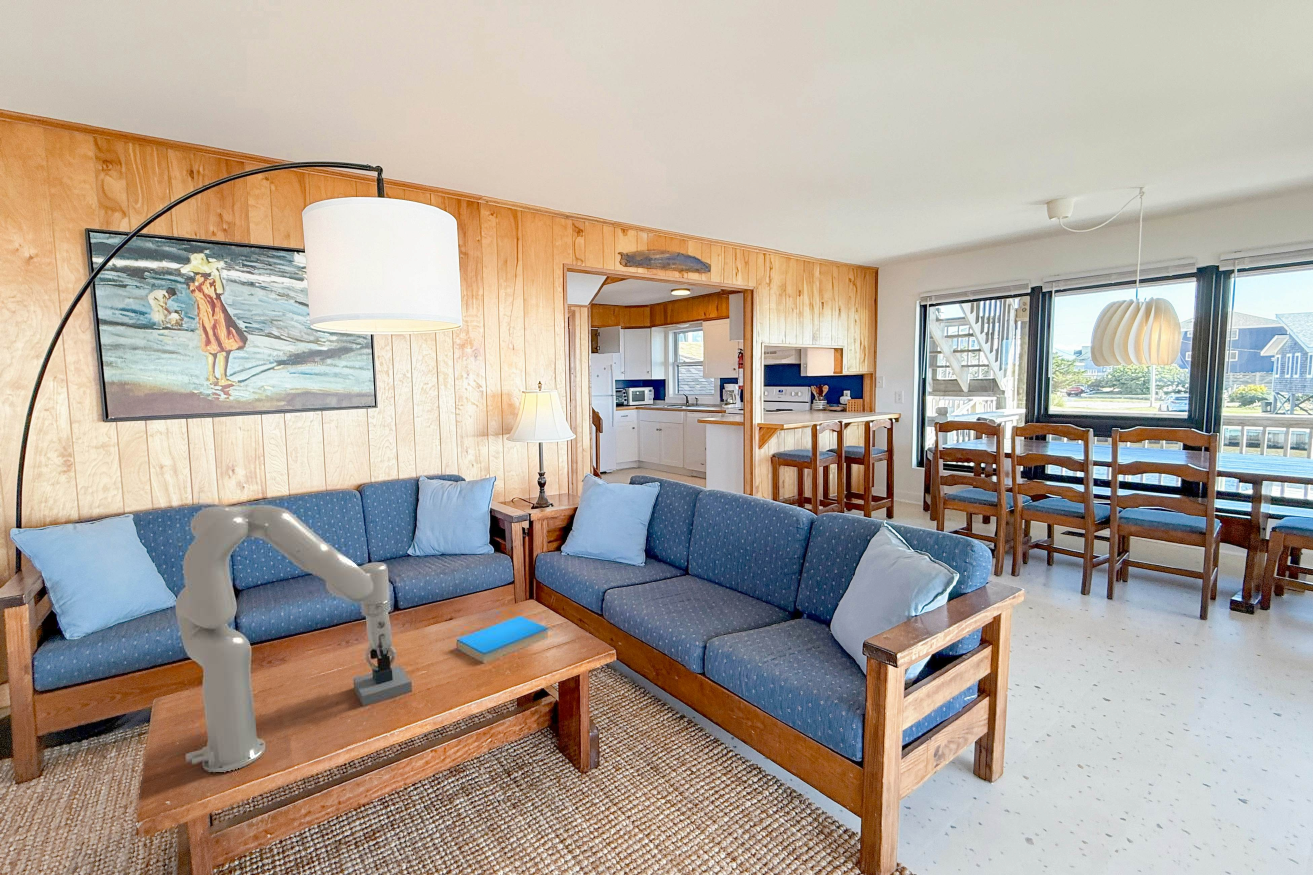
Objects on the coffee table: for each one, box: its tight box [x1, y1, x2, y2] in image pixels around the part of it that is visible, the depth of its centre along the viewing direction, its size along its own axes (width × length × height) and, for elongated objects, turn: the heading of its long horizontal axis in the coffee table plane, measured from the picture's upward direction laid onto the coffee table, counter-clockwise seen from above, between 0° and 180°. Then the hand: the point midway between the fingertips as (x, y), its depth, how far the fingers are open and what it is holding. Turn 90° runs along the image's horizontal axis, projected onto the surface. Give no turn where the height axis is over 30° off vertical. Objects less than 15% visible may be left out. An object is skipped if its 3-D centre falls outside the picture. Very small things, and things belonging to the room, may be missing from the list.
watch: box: [365, 645, 397, 685], centre depth 180 cm, size 6×8×11 cm
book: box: [456, 615, 549, 664], centre depth 209 cm, size 17×4×25 cm
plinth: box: [352, 664, 413, 707], centre depth 180 cm, size 13×13×3 cm
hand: (380, 663), depth 180 cm, fingers open, 9 cm apart
